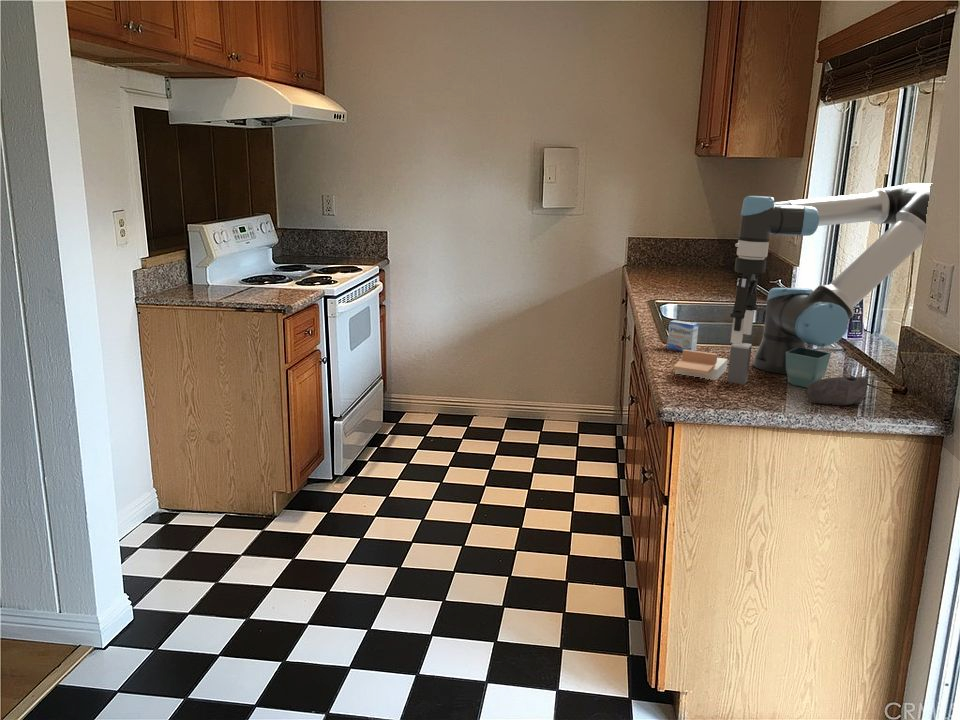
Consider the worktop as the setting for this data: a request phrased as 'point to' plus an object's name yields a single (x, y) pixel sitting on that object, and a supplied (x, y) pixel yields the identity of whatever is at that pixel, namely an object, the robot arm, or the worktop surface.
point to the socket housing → (712, 375)
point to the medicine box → (682, 335)
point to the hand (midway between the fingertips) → (741, 338)
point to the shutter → (696, 361)
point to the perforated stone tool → (838, 390)
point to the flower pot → (806, 366)
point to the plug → (739, 363)
